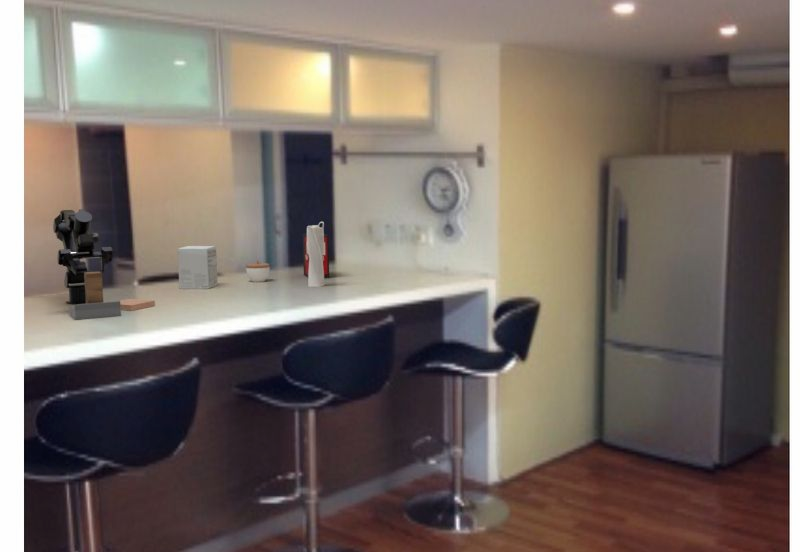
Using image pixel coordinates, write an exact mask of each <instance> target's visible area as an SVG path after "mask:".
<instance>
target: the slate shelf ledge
mask: <svg viewBox="0 0 800 552" xmlns="http://www.w3.org/2000/svg"><path fill="white" fill-rule="evenodd" d="M120 301H121V300H115V301H103V302H101V303H89V304H86V303H79V304H74V305H69V315H70V317H72V318H73V319H74V320H76V321H77V320H78V321H79V320H86V319H88V320H89V319H98V318H100V319H101V318H111V317H119V316H122V310H121V306H120Z"/></svg>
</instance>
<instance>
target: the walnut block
mask: <svg viewBox="0 0 800 552" xmlns="http://www.w3.org/2000/svg"><path fill="white" fill-rule="evenodd" d="M84 278H85V283H84V284H85V296H86V303H85V304H89V303H101V302H104V287H103V273H102V271H89V272H86V273H84Z"/></svg>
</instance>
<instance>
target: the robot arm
mask: <svg viewBox="0 0 800 552" xmlns="http://www.w3.org/2000/svg"><path fill="white" fill-rule="evenodd" d="M92 220H93V215H92V214H91V213H90V212H88V211H87V210H85V209H84V208H83V209H81V208H80V209H78V211H77V212H75V210H73V209H62V210H60V211H59V215H58V216H56V217H55V218H54V219H53V224H52V227H53V228H52V229H53V233H55V236H56V238H57V239H58V240H59V241H61V243H62V245H63V249H59V250H58V251H57V264H58V265H60V266H62V267H66V271H65V276H64V282H63V283H64V288H66V289H68V295H69V296H68V297H69V299H68V301H66V302H65V303H66V304H72V305H73V304H74V305H77V304H86V296H85V278H84V273H86V272H90V270H88V267H87V264H86V261H81V260H85V259H99V260H100V269H101V273H102V274H105V267H106V264H109V263H111V262H112V261H113V258H114V248H113V247H112V246H103V247H100V251H94V250H95V243H96V244H97V243H99V241H100V236H99V233H98V232H93V233H89V232H90V230H91V226H92V223H93V221H92Z"/></svg>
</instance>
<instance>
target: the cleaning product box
mask: <svg viewBox="0 0 800 552" xmlns="http://www.w3.org/2000/svg"><path fill="white" fill-rule="evenodd" d="M329 238H330V237H329V235H328V234H326V233H324V249H323V255H322V261H323V269H324V280H325V279H330V255H329V254H330V251H329V250H330V247H329V246H330V245H329V244H330V243H329V242H330V241H329ZM302 252H303V256H302V258H303V262H302V263H303V276H305V277H306V278H308V274H309V254H308V248H307V233H302Z"/></svg>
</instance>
